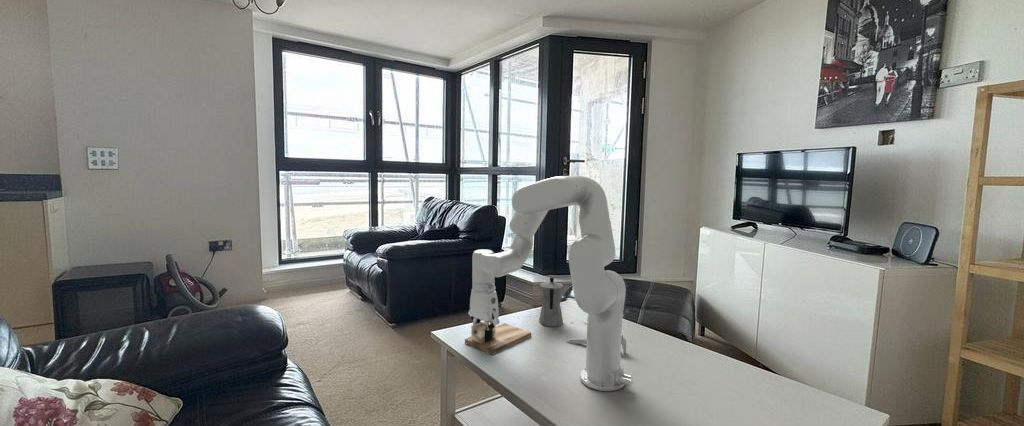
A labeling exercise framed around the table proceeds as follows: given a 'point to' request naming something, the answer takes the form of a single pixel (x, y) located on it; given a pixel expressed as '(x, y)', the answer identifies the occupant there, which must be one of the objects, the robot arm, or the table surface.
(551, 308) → the coffeepot
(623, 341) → the caliper
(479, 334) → the beige block with knob
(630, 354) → the table surface
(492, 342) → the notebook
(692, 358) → the table surface
